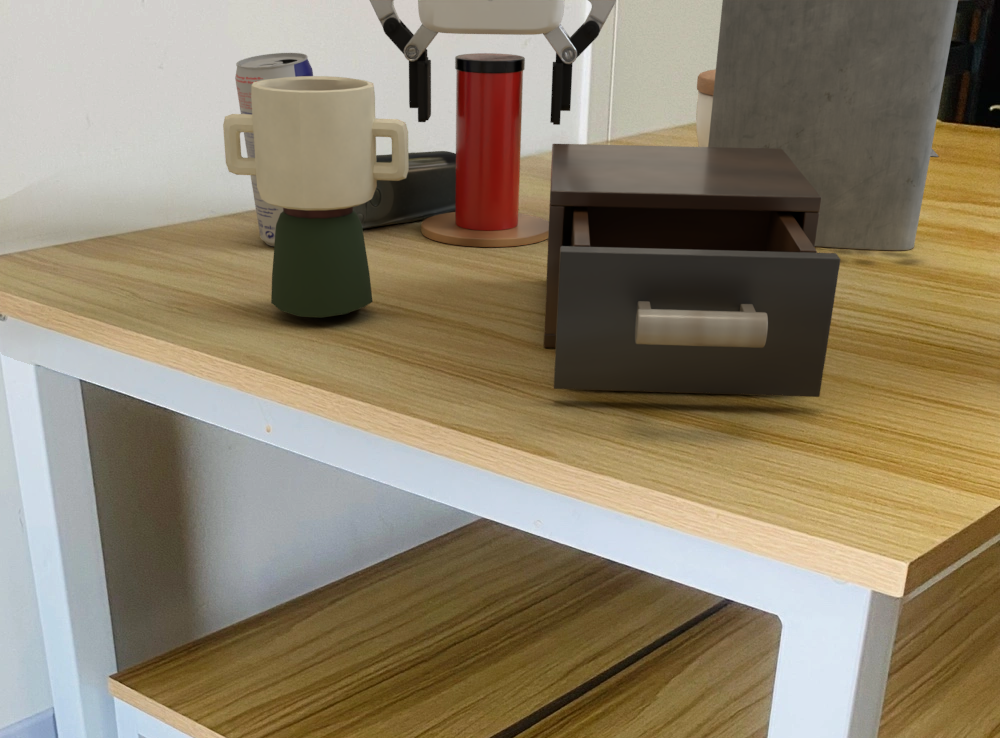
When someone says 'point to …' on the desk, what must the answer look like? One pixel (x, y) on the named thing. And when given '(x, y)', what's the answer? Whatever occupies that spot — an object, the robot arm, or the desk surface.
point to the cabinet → (668, 190)
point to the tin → (488, 140)
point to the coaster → (485, 232)
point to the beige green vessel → (317, 184)
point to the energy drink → (245, 76)
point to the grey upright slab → (839, 103)
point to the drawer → (692, 303)
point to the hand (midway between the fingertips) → (489, 120)
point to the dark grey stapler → (413, 191)
